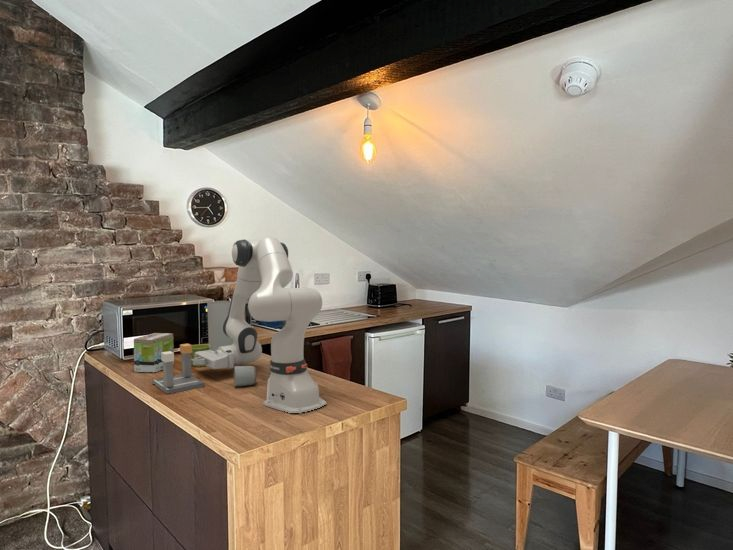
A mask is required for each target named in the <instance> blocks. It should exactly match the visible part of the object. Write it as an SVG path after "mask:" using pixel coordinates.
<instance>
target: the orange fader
mask: <svg viewBox="0 0 733 550" xmlns="http://www.w3.org/2000/svg"><path fill="white" fill-rule="evenodd" d="M192 345H193V344H190V343H182V344H179V353H181V374H182V375H183V376H184V377H189V376H193V374H192V364H191V359H192V358H191V353H192Z"/></svg>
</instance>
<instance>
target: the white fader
mask: <svg viewBox="0 0 733 550" xmlns="http://www.w3.org/2000/svg"><path fill="white" fill-rule="evenodd" d="M161 360H162V361H163V369H162V370H163V371H162V372H163V378H164V386H166V387H172V386H174V381H173V376H174V365H173V361H174V362H175V352H174V353H173V352H171V351H167V352H161Z"/></svg>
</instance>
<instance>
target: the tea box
mask: <svg viewBox="0 0 733 550" xmlns="http://www.w3.org/2000/svg"><path fill="white" fill-rule="evenodd" d="M174 349H175V347H174V333H169V332H167V333H163V332H153V333H149V334H146V335H142V336H139V337H137V338H134V339H133V363H134V364H133V368H134V371H137V372H156V373H157V372H160V371H162V370H163V361H162V360H161V352H167V351H171V352H173V353H174V354H175V351H174ZM173 364H174V365H175V360H174V361H173ZM137 372H136V373H137Z"/></svg>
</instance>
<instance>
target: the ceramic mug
mask: <svg viewBox="0 0 733 550" xmlns="http://www.w3.org/2000/svg"><path fill="white" fill-rule="evenodd" d="M256 383H257V368H256V367H255V366H253V365H252V366H251V365H237V366H236V365H234V367H233V385H234V387H244V386H252V385H255V384H256Z"/></svg>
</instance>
